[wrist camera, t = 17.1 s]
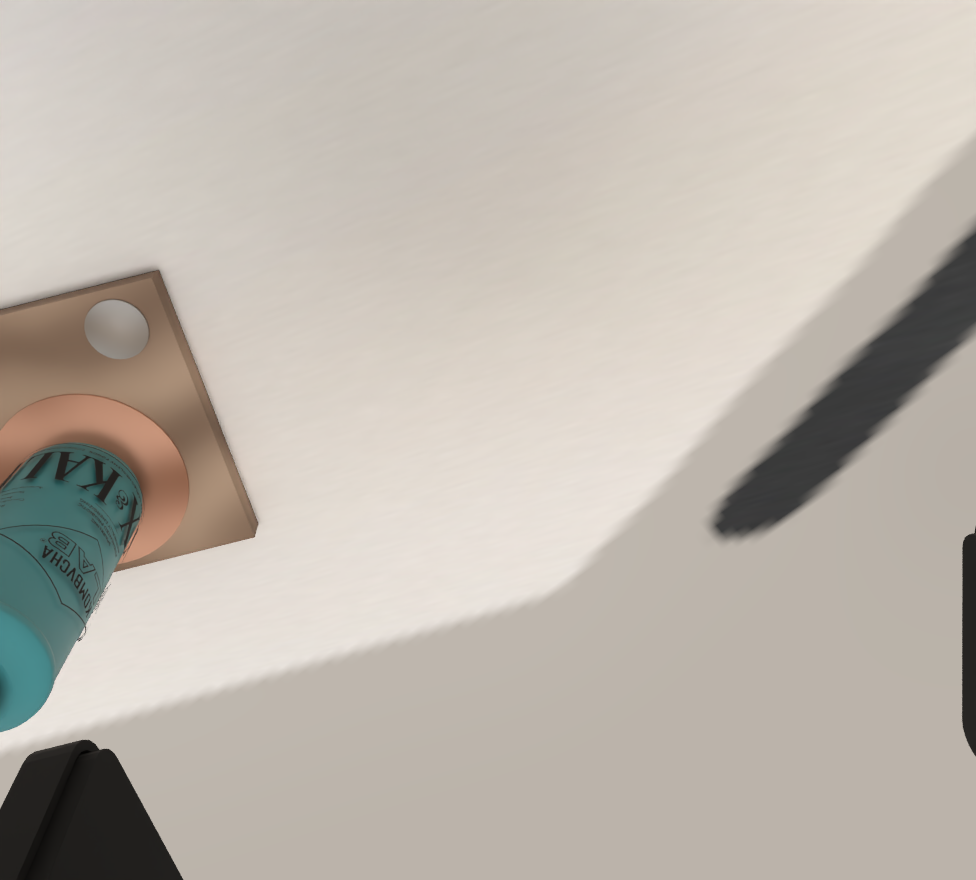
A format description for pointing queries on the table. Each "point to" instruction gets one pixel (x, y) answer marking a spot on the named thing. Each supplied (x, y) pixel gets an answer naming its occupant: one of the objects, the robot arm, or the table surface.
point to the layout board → (123, 409)
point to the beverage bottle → (56, 562)
